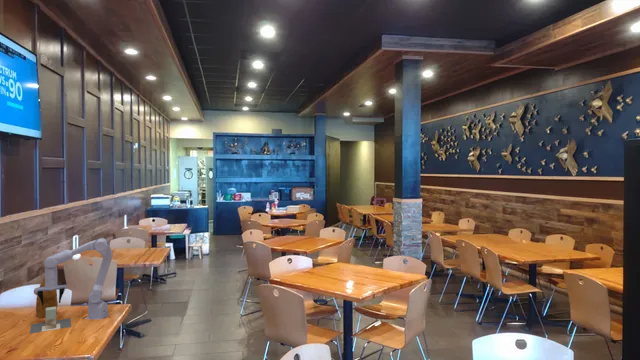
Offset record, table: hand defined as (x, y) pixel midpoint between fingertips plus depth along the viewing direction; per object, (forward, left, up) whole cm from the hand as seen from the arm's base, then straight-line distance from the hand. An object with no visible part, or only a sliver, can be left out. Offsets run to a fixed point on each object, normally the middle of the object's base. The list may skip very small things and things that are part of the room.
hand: (51, 303), depth 226 cm
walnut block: (-6, +8, -10) cm, 14 cm away
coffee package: (+12, -11, -11) cm, 19 cm away
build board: (-4, +5, -10) cm, 12 cm away
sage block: (-6, +8, -5) cm, 11 cm away
